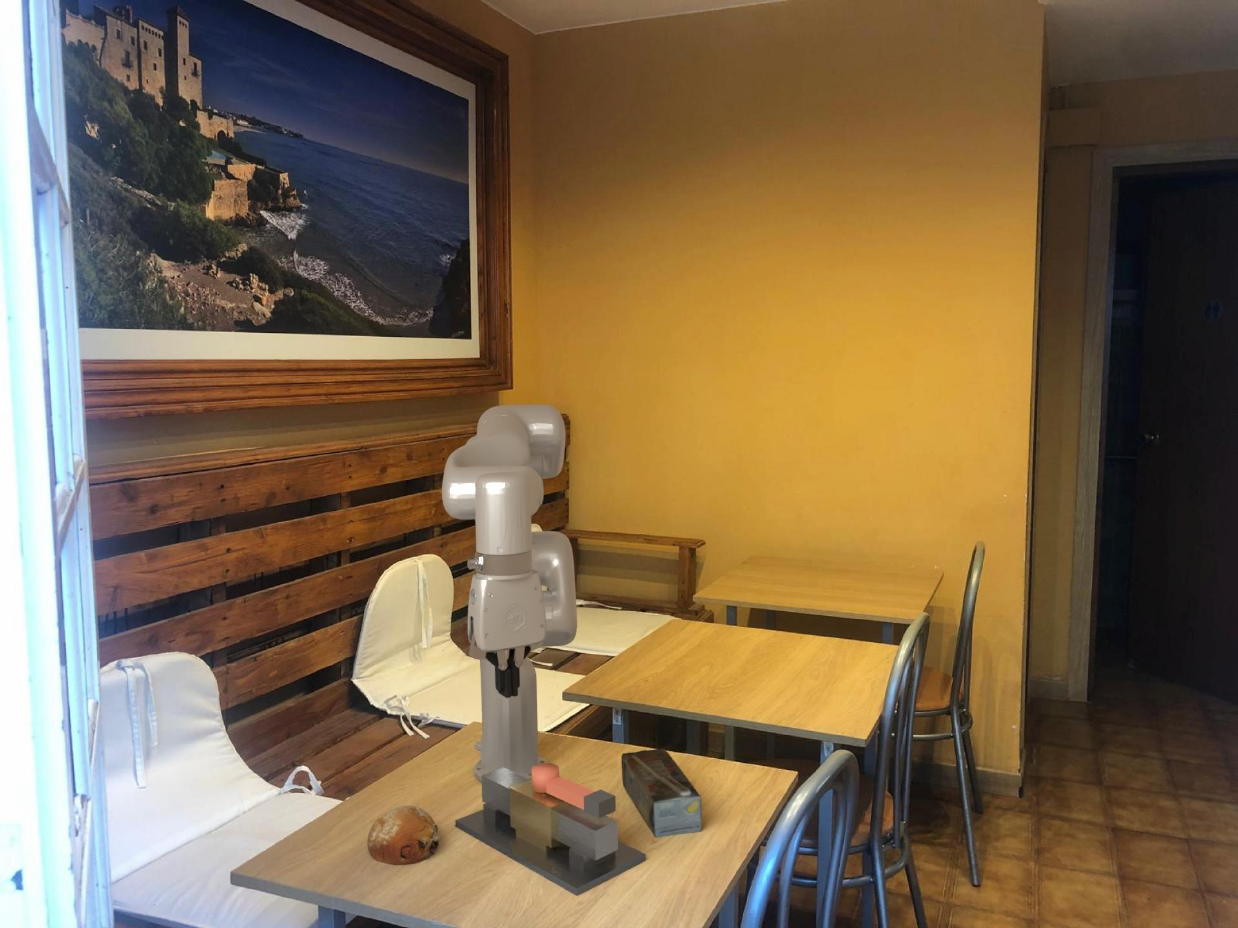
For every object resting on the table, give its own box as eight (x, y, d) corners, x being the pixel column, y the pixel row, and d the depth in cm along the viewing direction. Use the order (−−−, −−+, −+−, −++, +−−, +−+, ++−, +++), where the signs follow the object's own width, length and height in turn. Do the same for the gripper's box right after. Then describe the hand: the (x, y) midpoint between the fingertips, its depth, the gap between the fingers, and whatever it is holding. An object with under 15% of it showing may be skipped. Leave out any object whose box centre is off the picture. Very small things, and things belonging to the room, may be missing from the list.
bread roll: (419, 853, 151) (403, 801, 152) (459, 843, 144) (442, 790, 146) (365, 880, 143) (348, 825, 144) (405, 871, 137) (387, 814, 138)
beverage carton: (652, 840, 147) (652, 797, 146) (620, 787, 165) (619, 749, 164) (703, 833, 149) (703, 791, 148) (665, 781, 167) (665, 744, 166)
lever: (526, 786, 145) (525, 768, 145) (547, 778, 148) (546, 760, 147) (596, 819, 134) (596, 799, 134) (617, 809, 137) (617, 790, 137)
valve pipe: (455, 826, 151) (453, 772, 150) (522, 799, 160) (521, 749, 159) (576, 895, 131) (575, 834, 130) (645, 860, 140) (644, 803, 139)
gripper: (464, 575, 127) (468, 713, 129) (566, 561, 135) (568, 691, 137) (442, 565, 134) (446, 697, 135) (540, 553, 141) (543, 677, 143)
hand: (507, 694), depth 136 cm, fingers closed
